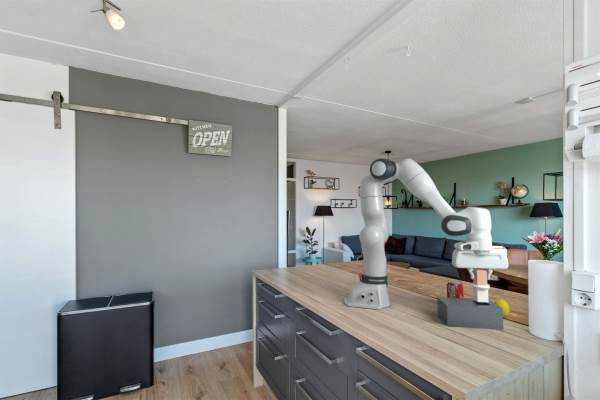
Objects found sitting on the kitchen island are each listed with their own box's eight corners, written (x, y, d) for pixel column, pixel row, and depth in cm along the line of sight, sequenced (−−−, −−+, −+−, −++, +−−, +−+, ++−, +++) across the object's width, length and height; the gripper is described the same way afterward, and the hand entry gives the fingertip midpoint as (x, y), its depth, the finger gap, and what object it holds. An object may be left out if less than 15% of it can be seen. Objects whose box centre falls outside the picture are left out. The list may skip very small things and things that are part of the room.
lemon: (505, 321, 115) (504, 301, 116) (491, 317, 120) (490, 298, 121) (512, 319, 118) (511, 299, 118) (498, 315, 123) (497, 296, 123)
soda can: (466, 310, 129) (465, 283, 130) (449, 309, 130) (449, 283, 131) (460, 305, 136) (460, 280, 136) (445, 304, 137) (444, 279, 138)
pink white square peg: (475, 302, 112) (474, 271, 112) (468, 297, 118) (468, 267, 119) (493, 303, 111) (492, 271, 111) (485, 298, 117) (484, 268, 118)
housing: (447, 326, 110) (447, 305, 111) (437, 315, 122) (437, 297, 123) (503, 329, 107) (502, 308, 108) (487, 318, 119) (487, 299, 119)
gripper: (502, 245, 117) (503, 278, 116) (450, 244, 120) (450, 276, 120) (511, 246, 111) (512, 282, 110) (455, 245, 114) (456, 280, 113)
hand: (480, 279), depth 115 cm, fingers closed on pink white square peg, 4 cm apart
